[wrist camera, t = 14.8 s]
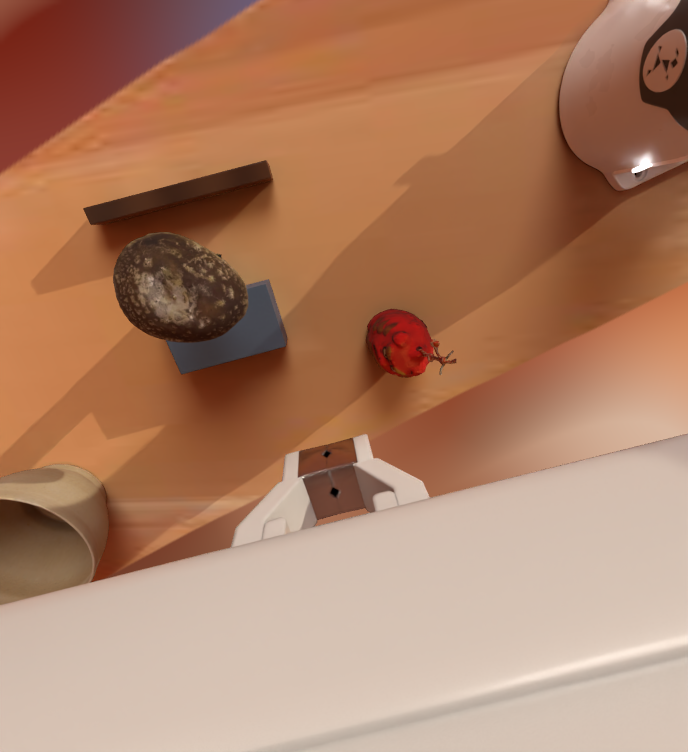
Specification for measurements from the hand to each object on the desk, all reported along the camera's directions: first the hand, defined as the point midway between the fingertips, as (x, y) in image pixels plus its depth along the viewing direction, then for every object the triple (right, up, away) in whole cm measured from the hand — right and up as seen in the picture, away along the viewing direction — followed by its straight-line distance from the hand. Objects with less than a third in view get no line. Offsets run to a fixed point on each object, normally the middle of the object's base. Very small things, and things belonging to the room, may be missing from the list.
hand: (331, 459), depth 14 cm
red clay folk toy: (+6, +8, +33) cm, 34 cm away
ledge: (-16, +21, +25) cm, 36 cm away
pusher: (-13, +9, +30) cm, 34 cm away
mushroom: (-14, +14, +28) cm, 35 cm away
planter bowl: (-36, -12, +37) cm, 53 cm away
